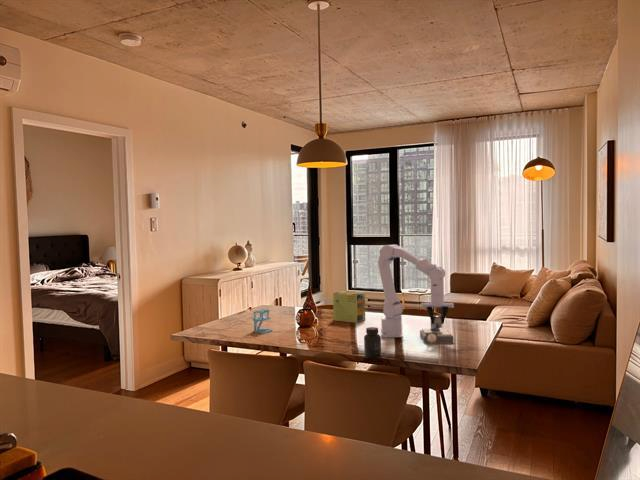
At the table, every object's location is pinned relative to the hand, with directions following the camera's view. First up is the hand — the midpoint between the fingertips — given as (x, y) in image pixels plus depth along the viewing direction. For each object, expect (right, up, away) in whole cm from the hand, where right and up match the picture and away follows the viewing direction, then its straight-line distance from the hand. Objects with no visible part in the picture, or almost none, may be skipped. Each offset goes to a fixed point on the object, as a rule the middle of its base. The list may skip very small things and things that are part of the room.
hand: (437, 323), depth 223 cm
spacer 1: (0, -2, 0) cm, 2 cm away
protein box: (-37, -7, +53) cm, 65 cm away
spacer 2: (0, -4, +6) cm, 8 cm away
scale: (0, -8, +3) cm, 9 cm away
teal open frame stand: (-83, -9, +27) cm, 88 cm away
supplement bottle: (-32, -10, -24) cm, 42 cm away
